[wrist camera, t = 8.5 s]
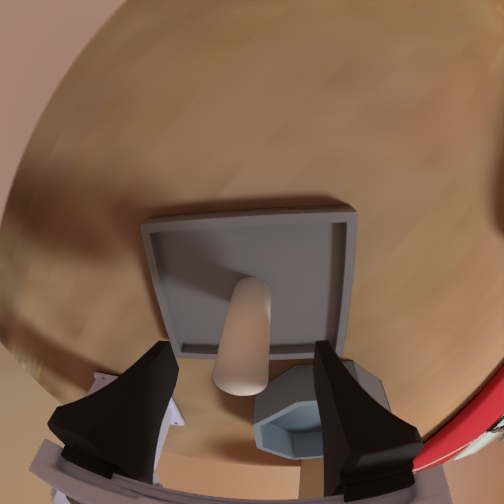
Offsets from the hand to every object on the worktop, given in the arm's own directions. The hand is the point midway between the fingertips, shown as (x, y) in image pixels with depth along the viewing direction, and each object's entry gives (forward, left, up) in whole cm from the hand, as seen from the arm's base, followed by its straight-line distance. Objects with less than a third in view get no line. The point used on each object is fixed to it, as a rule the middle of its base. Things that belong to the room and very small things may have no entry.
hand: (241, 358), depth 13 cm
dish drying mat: (+37, -24, -8) cm, 45 cm away
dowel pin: (0, 0, -6) cm, 6 cm away
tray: (0, 0, -7) cm, 7 cm away
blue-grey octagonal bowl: (+6, -14, -7) cm, 16 cm away
